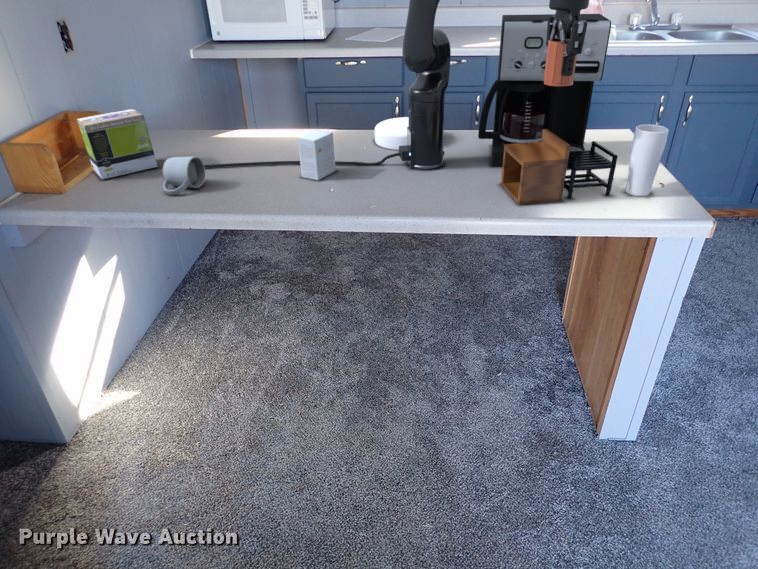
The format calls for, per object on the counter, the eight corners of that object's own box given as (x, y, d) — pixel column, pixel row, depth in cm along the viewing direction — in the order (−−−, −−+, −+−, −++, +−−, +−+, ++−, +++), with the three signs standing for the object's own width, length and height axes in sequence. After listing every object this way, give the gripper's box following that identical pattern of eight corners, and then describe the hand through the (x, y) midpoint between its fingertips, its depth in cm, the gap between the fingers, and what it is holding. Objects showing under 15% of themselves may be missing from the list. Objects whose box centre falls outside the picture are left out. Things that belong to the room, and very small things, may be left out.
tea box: (147, 159, 158) (134, 107, 151) (158, 168, 151) (144, 114, 144) (92, 171, 151) (75, 116, 143) (101, 180, 144) (83, 124, 136)
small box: (319, 168, 148) (315, 129, 142) (336, 171, 145) (333, 131, 140) (301, 177, 142) (296, 137, 136) (318, 180, 139) (314, 140, 134)
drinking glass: (634, 200, 123) (649, 134, 116) (615, 189, 129) (628, 125, 121) (659, 196, 125) (676, 130, 117) (640, 186, 130) (654, 122, 123)
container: (443, 149, 159) (444, 133, 156) (375, 151, 159) (374, 135, 156) (436, 130, 176) (437, 115, 173) (374, 132, 176) (374, 117, 173)
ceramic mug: (180, 179, 143) (173, 150, 139) (208, 181, 141) (202, 152, 137) (156, 195, 134) (148, 165, 130) (185, 197, 132) (178, 167, 128)
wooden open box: (519, 205, 123) (525, 148, 116) (500, 184, 134) (505, 131, 127) (561, 201, 124) (570, 145, 117) (539, 181, 135) (546, 128, 128)
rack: (568, 199, 125) (574, 158, 120) (549, 182, 134) (554, 143, 129) (609, 196, 126) (618, 155, 121) (588, 179, 135) (594, 141, 130)
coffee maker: (476, 166, 145) (485, 21, 127) (477, 144, 161) (486, 13, 143) (586, 170, 140) (613, 20, 122) (576, 147, 157) (599, 11, 138)
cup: (550, 87, 113) (555, 42, 109) (539, 81, 118) (544, 39, 114) (577, 85, 114) (584, 41, 109) (565, 80, 119) (571, 37, 115)
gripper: (539, -19, 112) (530, 68, 121) (568, -16, 100) (556, 80, 109) (574, -21, 113) (562, 66, 121) (607, -18, 101) (592, 78, 109)
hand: (559, 72), depth 115 cm, fingers closed on cup, 6 cm apart
